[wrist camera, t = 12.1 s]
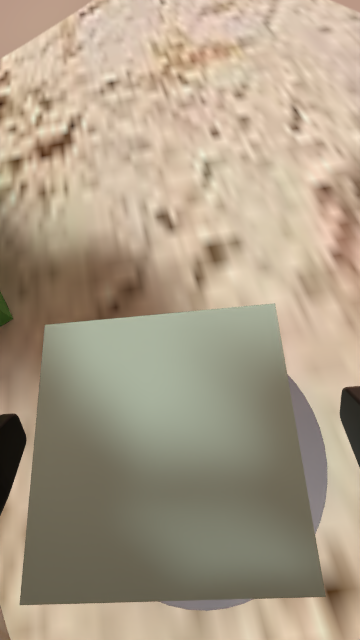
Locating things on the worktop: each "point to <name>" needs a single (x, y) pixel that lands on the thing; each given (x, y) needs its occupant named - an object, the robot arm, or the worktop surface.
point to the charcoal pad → (314, 477)
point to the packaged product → (3, 628)
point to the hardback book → (4, 312)
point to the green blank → (167, 464)
